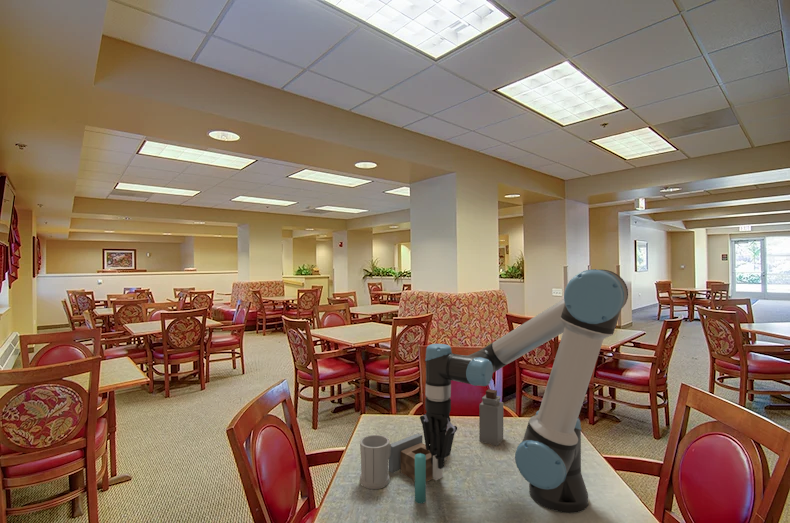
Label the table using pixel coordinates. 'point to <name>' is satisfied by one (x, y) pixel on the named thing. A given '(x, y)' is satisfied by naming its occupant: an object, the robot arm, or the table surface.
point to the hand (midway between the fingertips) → (437, 477)
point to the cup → (374, 461)
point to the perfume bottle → (491, 418)
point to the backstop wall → (400, 446)
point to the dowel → (420, 478)
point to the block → (409, 461)
